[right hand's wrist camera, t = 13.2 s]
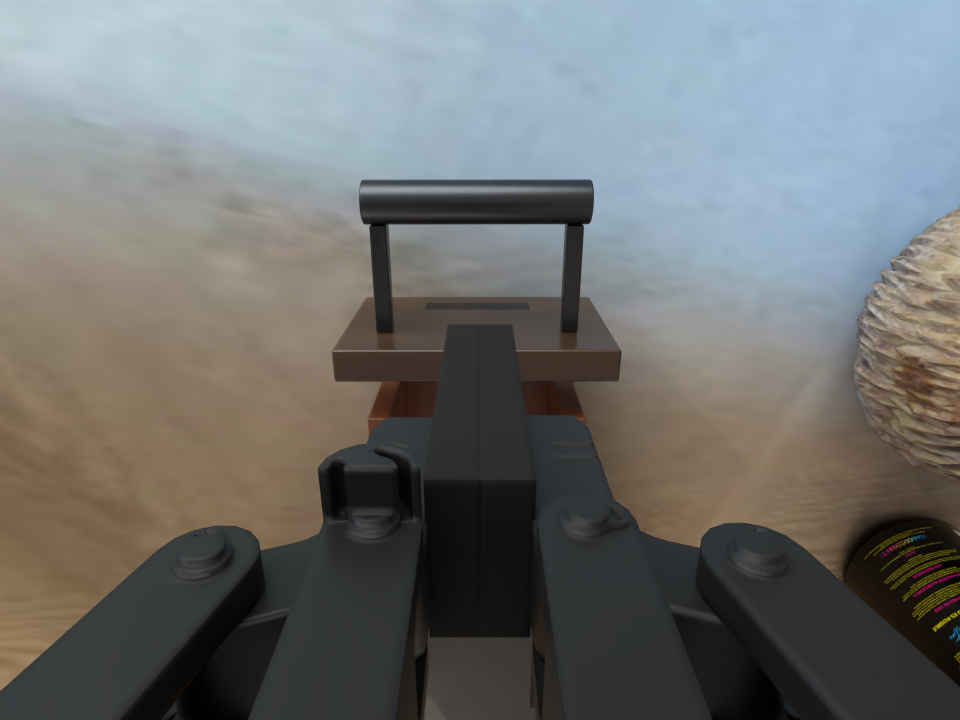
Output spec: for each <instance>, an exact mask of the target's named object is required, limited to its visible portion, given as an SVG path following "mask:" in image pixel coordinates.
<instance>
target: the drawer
mask: <svg viewBox="0 0 960 720" xmlns="http://www.w3.org/2000/svg"><path fill="white" fill-rule="evenodd" d="M359 205H360V214H361V218H362V221H363V223H364V224H371V225H370V227H369V228H370V243H371V258H372V273H373V288H374V298H366V299H365V301H364V302H363V304H362V305H361V307H360V308H359V310H358V312H357V313H356V315H355V316H354V318H353V319H352V321H351V322H350V324H349V326H348V327H347V329H346V330H345V332H344V333H343V335H342V337H341V338H340V340H339V341H338V343H337V344H336V346H335V348H334V349H333V351H332V356H333V367H334V377H335V381H382V383H381V386H380V389H379V391H378V394H377V397H376V400H375V402H374V405H373V408H372V410H371V413H370V416H369V418H368V426H369V436H370V433H371V430H372V429H374V428H375V427H376V426H377V425H378V424H380V423H381V422H382V421H383V420H384V419H385V418H387V417H433V415H434V409H435V403H436V396H437V390H438V384H439V377H440V371H441V364H442V358H443V352H444V345H445V339H446V332H447V326H448V324H512V326H513V332H514V339H515V345H516V352H517V358H518V364H519V371H520V377H521V384H522V390H523V396H524V403H525V409H526V415H573V416H575V417H576V418H577V419H578V420H579V421H581V422H582V423H583V424H584V425H585V426H586V418H585V415H584V413H583V410H582V407H581V404H580V401H579V398H578V396H577V393H576V390H575V387H574V384H573V381H618V380H619V373H620V362H621V350H620V348H619V346H618V345H617V343H616V341H615V340H614V338H613V337H612V335H611V333H610V332H609V330H608V328H607V327H606V325H605V323H604V322H603V320H602V319H601V317H600V315H599V314H598V312H597V310H596V309H595V307H594V305H593V304H592V302H591V301H590V299H589V298H588V297H580V283H581V267H582V250H583V234H584V226H583V225H582V224H589V223H590V222H591V219H592V214H593V205H594V189H593V183H592V181H591V180H362V181H361V184H360V189H359ZM388 224H565V237H564V257H563V277H562V297H463V298H392V282H391V264H390V245H389V227H388Z"/></svg>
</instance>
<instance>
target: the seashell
mask: <svg viewBox="0 0 960 720" xmlns="http://www.w3.org/2000/svg"><path fill="white" fill-rule="evenodd" d="M890 263H891V266H892V268H893V271H892V270H888V269H883V270H882V271H881V272H880V274H881V275H882V278H883V281H884V282H878V281H876V282H875V283H873V284H872V285H871V286H872V288H873V289H874V290H875V292H870V293H868V294H867V295H866V297H865V304H866V306H865V307H864V309H863V310H862V312H861V313H860V316H859V317H858V319H857V324H858V325H859V327H858V333H857V335H856V338H857V341H858V345H859V348H858V351H857V354H856V359H855V363H854V374H855V375H854V382H855V385H856V388H857V396H858V399H859V401H860V403H861V405H862V406H863V410H864V415H865V417H866V419H867V422H868V424H869V426H870V428H873V430H874V431H875V433H876V435H877V436H878V437H879V438H880V439H881V440H882V441H883V442H885V443H888V444H890V445H891V446H893V447H894V448H895V450H896V451H898V452H899V453H900V454H901V455H902V456H903V457H904V458H905V459H906V460H907V461H908V463H909V464H910V465H911V466H916V467H922V468H923V469H925V470H928V471H930V472H933V473H935V474H937V475H939V476H942V477H944V478H946V479H948V480H951V481H956V482H959V483H960V206H959V207H958V208H957V209H955V210H954V211H953V212H950V213H949V214H948V215H947V216H944V217H941V218H939V219H938V220H937V221H936V222H935V223H934V224H932V225H930V226H929V227H927V228H925V230H924V232H923V234H921V235H918V236H915V237H914V238H913V239H912V240H911V243H910V245H909V246H906V247H905V248H904V249H903V250H902V251H901V253H900V256H898V257H896V258H893V259H890Z"/></svg>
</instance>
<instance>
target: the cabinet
mask: <svg viewBox="0 0 960 720" xmlns="http://www.w3.org/2000/svg"><path fill="white" fill-rule="evenodd" d="M532 640H533V639H532V629H531V634H530V637H430V634H429V632H428V664H429V670H428V682H427V693H426V704H425V715H424V720H536V714H535V708H530V688H531V664H532Z"/></svg>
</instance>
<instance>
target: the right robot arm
mask: <svg viewBox="0 0 960 720" xmlns="http://www.w3.org/2000/svg"><path fill="white" fill-rule="evenodd" d="M318 475H319V484H320V493H321V501H322V510H323V519H324V522H323V525H322V528H321V530H320V533H319V534H318V535H315V536H313V537H311V538H309V539H307V540H303V541H300V542H296V543H293V544H289V545H284V546H280V547H275V548H270V549H266V550H261V551H260V545H259V540H258V539H257V538H256V537H255V536H254V535H253V534H252V533H251V531H248V530H245V529H242V528H240V527H237V526H212V527H207V528H201V529H197V530H194V531H191V532H189V533H187V534H184V535H182V536H179V537H177V538H175V539H173V540H172V541H170V542H169V543H167V544H166V545H164V546H163V547H162V548H160V549H159V550H157V551H156V552H155V553H154V554H153V555H152V556H151V557H149V558H148V559H147V560H146V561H145V562H144V563H143V564H142V565H141V566H139V567H138V568H137V569H136V570H135V571H134V572H133V573H132V574H131V575H129V576H128V577H127V578H126V579H125V580H124V581H123V582H122V583H120V584H119V585H118V586H117V587H116V588H115V589H114V590H113V591H112V592H110V593H109V594H108V595H107V596H106V597H105V598H104V599H103V600H102V601H100V602H99V603H98V604H97V605H96V606H95V607H94V608H93V609H92V610H90V611H89V612H88V613H87V614H86V615H85V616H84V617H83V618H81V619H80V620H79V621H78V622H77V623H76V624H75V625H74V626H73V627H71V628H70V629H69V630H68V631H67V632H66V633H65V634H64V635H63V636H61V637H60V638H59V639H58V640H57V641H56V642H55V643H54V644H53V645H51V646H50V647H49V648H48V649H47V650H46V651H45V652H44V653H42V654H41V655H40V656H39V657H38V658H37V659H36V660H35V661H34V662H32V663H31V664H30V665H29V666H28V667H27V668H26V669H25V670H24V671H22V672H21V673H20V674H19V675H18V676H17V677H16V678H15V679H14V680H12V681H11V682H10V683H9V684H8V685H7V686H6V687H5V688H3V689H2V690H1V691H0V720H424V715H425V704H426V693H427V682H428V670H429V664H428V632H429V634H430V637H530V634H531V629H532V639H533V640H532V664H531V688H530V708H535V714H536V720H960V687H959V686H958V685H957V684H956V683H955V682H954V681H953V680H952V679H950V678H949V677H948V676H947V675H946V674H945V673H944V672H943V671H941V670H940V669H939V668H938V667H937V666H936V665H935V664H934V663H932V662H931V661H930V660H929V659H928V658H927V657H926V656H925V655H923V654H922V653H921V652H920V651H919V650H918V649H917V648H916V647H915V646H913V645H912V644H911V643H910V642H909V641H908V640H907V639H906V638H904V637H903V636H902V635H901V634H900V633H899V632H898V631H897V630H895V629H894V628H893V627H892V626H891V625H890V624H889V623H888V622H886V621H885V620H884V619H883V618H882V617H881V616H880V615H879V614H877V613H876V612H875V611H874V610H873V609H872V608H871V607H870V606H868V605H867V604H866V603H865V602H864V601H863V600H862V599H861V598H859V597H858V596H857V595H856V594H855V593H854V592H853V591H852V590H850V589H849V588H848V587H847V586H846V585H845V584H844V583H843V582H841V581H840V580H839V579H838V578H837V577H836V576H835V575H834V574H832V573H831V572H830V571H829V570H828V569H827V568H826V567H825V566H824V565H822V564H821V563H820V562H819V561H818V560H817V559H816V558H815V557H813V556H812V555H811V554H810V553H809V552H808V551H807V550H806V549H804V548H803V547H802V546H800V545H799V544H797V543H796V542H795V541H793V540H792V539H790V538H789V537H787V536H786V535H783V534H781V533H778V532H776V531H774V530H771V529H769V528H766V527H762V526H758V525H753V524H747V523H725V524H722V525H719V526H716V527H713V528H710V529H709V530H708V531H707V532H706V534H705V535H704V536H703V537H702V539H701V545H700V548H698V547H693V546H688V545H683V544H679V543H674V542H669V541H666V540H662V539H659V538H655V537H653V536H651V535H648V534H646V533H644V532H642V531H640V529H639V527H638V524H637V522H636V520H635V519H634V517H633V516H632V514H631V513H630V511H629V510H628V509H626V508H625V507H623V506H622V505H620V504H619V503H617V502H616V501H614V499H613V496H612V493H611V490H610V488H609V485H608V482H607V479H606V476H605V473H604V471H603V468H602V465H601V462H600V459H598V453H597V451H596V448H595V446H594V442H593V439H592V436H591V433H590V431H589V428H588V427H587V426H585V425H584V424H583V423H582V422H581V421H579V420H578V419H577V418H576V417H575V416H573V415H526V409H525V403H524V396H523V390H522V384H521V377H520V371H519V364H518V358H517V352H516V345H515V339H514V332H513V326H512V324H448V326H447V332H446V339H445V345H444V352H443V358H442V364H441V371H440V377H439V384H438V390H437V396H436V403H435V409H434V415H433V417H387V418H385V419H384V420H383V421H382V422H381V423H380V424H378V425H377V426H376V427H375V428H374V429H372V430H371V433H370V436H369V439H368V442H367V444H361V445H356V446H352V447H349V448H345V449H342V450H340V451H338V452H336V453H334V454H333V455H331V456H329V457H327V458H326V459H325V460H324V461H323V463H322V464H321V465H320V466H319V467H318Z"/></svg>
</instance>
